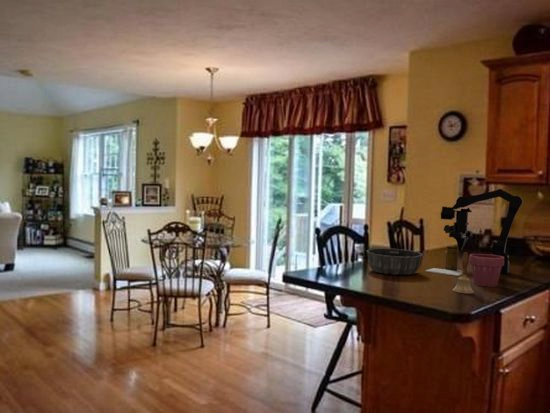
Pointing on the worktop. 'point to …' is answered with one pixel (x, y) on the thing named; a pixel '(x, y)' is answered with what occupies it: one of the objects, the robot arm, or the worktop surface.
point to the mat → (444, 272)
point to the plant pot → (486, 268)
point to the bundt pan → (394, 261)
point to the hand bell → (464, 278)
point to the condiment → (451, 258)
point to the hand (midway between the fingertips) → (460, 250)
